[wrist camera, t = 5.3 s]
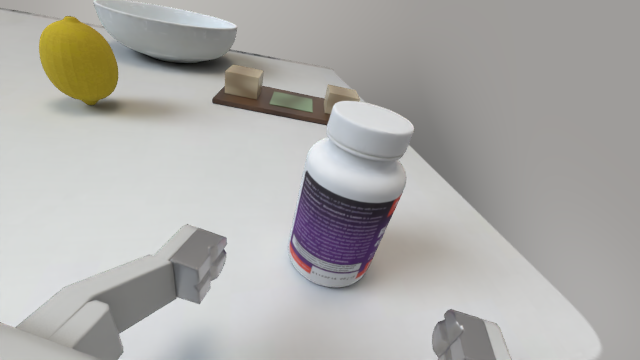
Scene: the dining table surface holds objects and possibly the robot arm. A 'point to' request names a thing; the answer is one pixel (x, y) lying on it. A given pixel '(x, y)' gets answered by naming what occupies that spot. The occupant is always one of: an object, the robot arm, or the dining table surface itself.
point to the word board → (277, 97)
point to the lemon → (78, 60)
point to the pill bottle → (348, 193)
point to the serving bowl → (166, 31)
